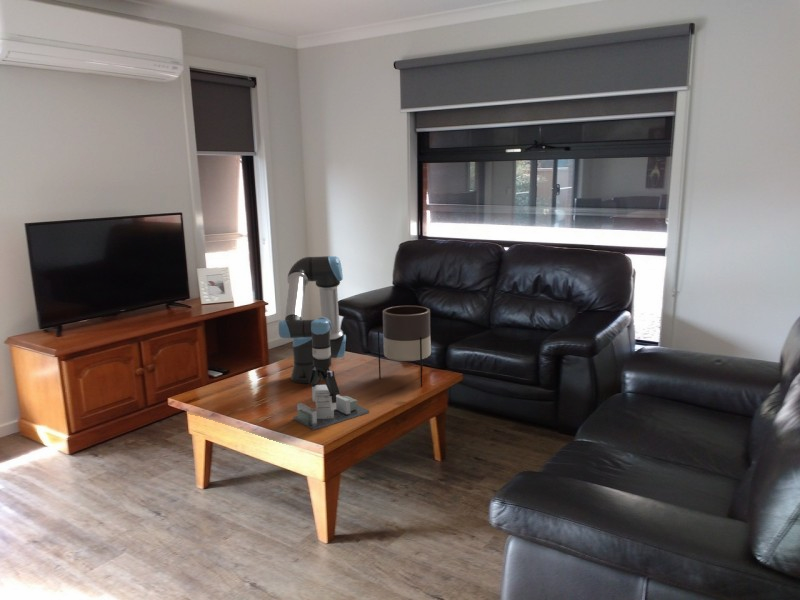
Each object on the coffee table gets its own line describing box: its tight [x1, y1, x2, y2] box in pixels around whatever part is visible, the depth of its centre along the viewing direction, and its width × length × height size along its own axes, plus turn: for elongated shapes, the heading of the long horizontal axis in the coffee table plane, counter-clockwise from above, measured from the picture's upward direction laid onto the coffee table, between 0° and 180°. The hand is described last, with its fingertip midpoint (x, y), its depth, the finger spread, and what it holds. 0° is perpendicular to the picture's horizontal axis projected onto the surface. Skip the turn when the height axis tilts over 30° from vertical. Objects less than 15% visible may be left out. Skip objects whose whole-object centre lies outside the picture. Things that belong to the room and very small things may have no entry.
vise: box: [292, 402, 370, 431], centre depth 256 cm, size 16×28×7 cm, turn 130°
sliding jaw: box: [336, 394, 358, 414], centre depth 260 cm, size 12×7×6 cm, turn 40°
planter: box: [377, 305, 432, 388], centre depth 299 cm, size 26×25×35 cm
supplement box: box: [315, 384, 334, 419], centre depth 253 cm, size 7×7×13 cm
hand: (324, 405), depth 254 cm, fingers open, 13 cm apart
